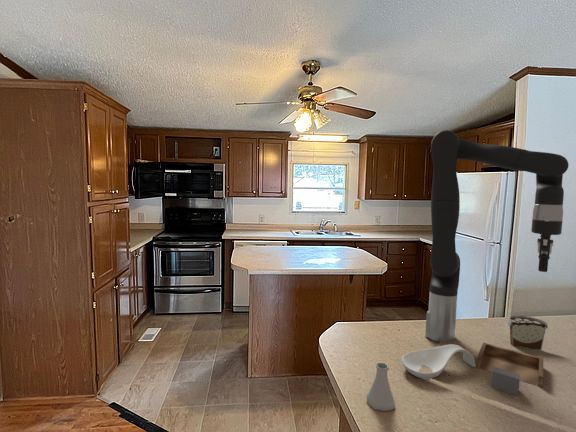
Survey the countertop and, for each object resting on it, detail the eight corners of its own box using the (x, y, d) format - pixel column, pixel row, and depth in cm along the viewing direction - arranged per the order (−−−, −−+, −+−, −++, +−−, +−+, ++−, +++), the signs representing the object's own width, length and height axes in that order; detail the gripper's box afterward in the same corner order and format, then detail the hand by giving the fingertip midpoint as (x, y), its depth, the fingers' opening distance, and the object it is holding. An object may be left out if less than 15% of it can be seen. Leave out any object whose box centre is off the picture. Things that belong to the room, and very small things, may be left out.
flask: (362, 394, 87) (363, 358, 86) (388, 393, 88) (390, 357, 87) (371, 412, 80) (373, 373, 79) (400, 411, 81) (402, 372, 80)
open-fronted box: (475, 370, 100) (476, 357, 100) (482, 353, 110) (483, 342, 110) (542, 390, 90) (543, 377, 90) (542, 370, 100) (543, 358, 100)
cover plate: (476, 395, 89) (478, 374, 88) (482, 377, 97) (483, 357, 97) (531, 414, 81) (533, 391, 81) (532, 392, 90) (534, 372, 90)
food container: (534, 342, 119) (536, 315, 119) (545, 350, 113) (548, 322, 112) (498, 340, 121) (500, 313, 120) (508, 348, 115) (510, 320, 114)
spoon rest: (418, 388, 91) (419, 363, 90) (393, 366, 102) (394, 343, 101) (485, 376, 97) (487, 353, 97) (455, 356, 109) (456, 335, 108)
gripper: (533, 216, 111) (529, 263, 113) (531, 219, 100) (527, 271, 102) (561, 218, 107) (557, 267, 108) (563, 221, 96) (558, 275, 97)
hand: (542, 269), depth 105 cm, fingers open, 8 cm apart
